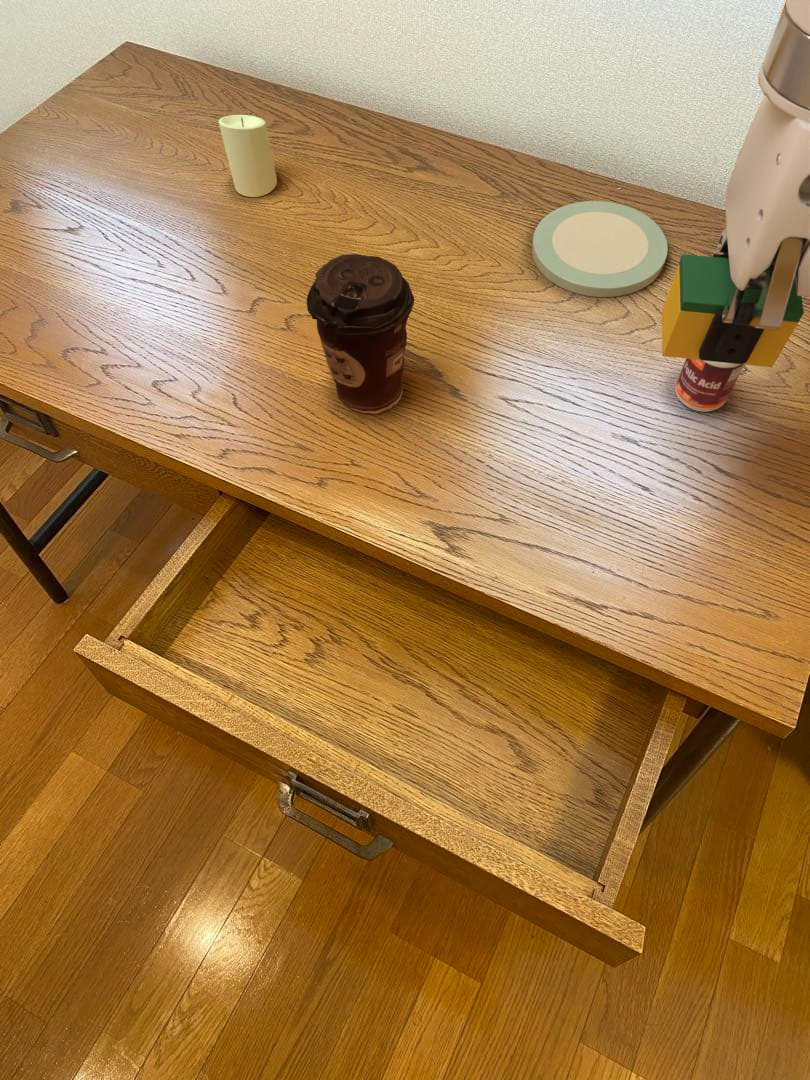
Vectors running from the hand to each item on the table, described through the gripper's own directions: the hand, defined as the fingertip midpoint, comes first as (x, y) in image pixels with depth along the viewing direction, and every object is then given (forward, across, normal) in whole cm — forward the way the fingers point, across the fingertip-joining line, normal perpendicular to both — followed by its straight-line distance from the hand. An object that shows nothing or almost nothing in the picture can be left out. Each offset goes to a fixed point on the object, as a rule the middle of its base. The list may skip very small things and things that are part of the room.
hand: (720, 328), depth 52 cm
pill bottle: (+15, +8, -4) cm, 18 cm away
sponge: (+1, 0, 0) cm, 1 cm away
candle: (+16, +34, +46) cm, 59 cm away
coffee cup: (+16, +4, +27) cm, 32 cm away
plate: (+16, +27, +6) cm, 31 cm away
